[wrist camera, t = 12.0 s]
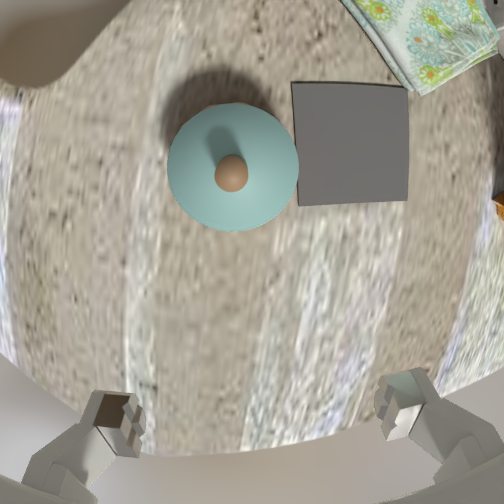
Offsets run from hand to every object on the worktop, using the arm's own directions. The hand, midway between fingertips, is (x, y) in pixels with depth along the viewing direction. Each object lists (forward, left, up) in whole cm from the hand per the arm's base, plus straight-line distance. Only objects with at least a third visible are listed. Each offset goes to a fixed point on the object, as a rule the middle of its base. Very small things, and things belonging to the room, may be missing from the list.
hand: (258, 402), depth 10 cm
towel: (-24, +22, -29) cm, 43 cm away
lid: (-4, -1, -24) cm, 24 cm away
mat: (-5, +13, -29) cm, 32 cm away
